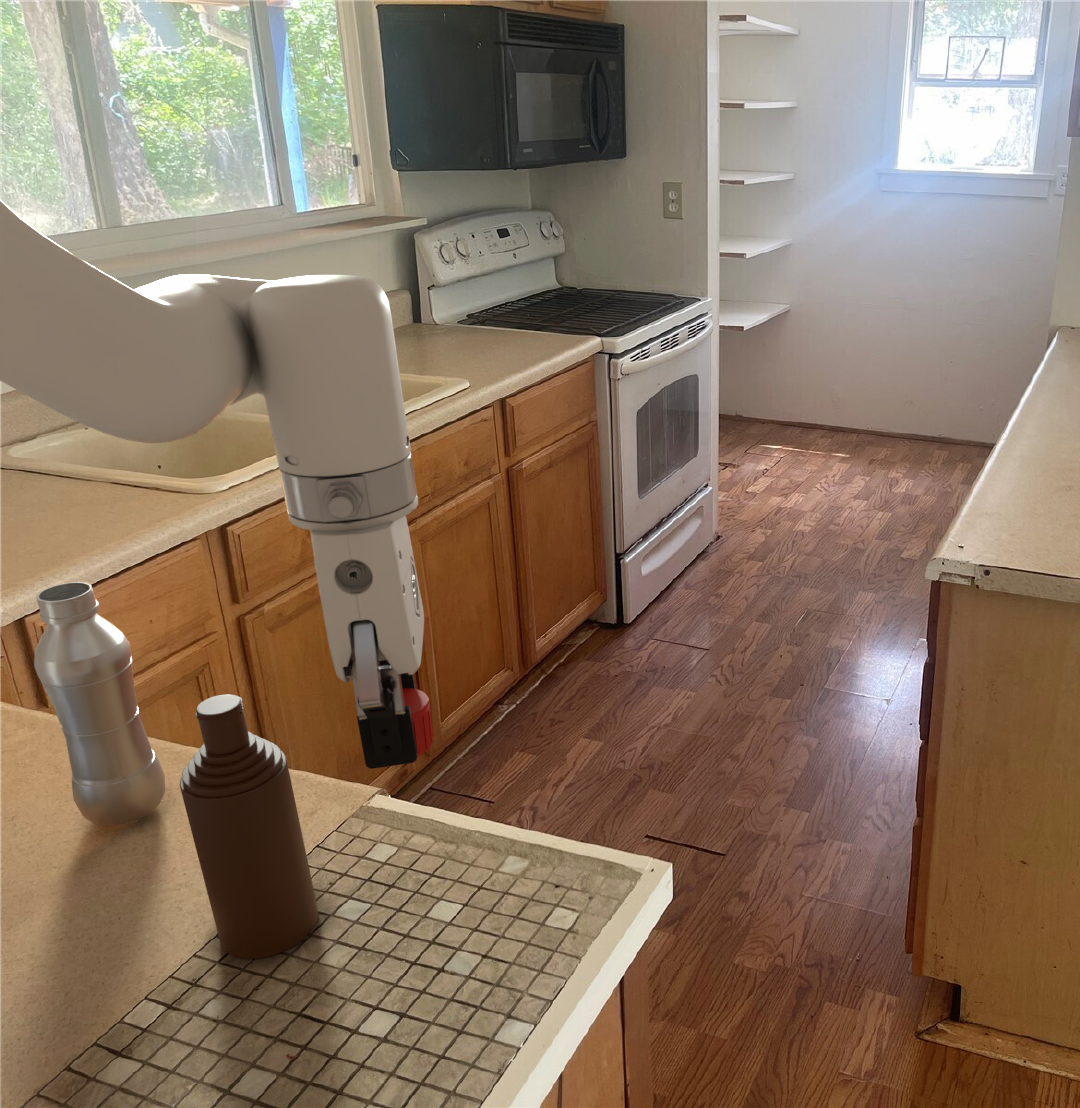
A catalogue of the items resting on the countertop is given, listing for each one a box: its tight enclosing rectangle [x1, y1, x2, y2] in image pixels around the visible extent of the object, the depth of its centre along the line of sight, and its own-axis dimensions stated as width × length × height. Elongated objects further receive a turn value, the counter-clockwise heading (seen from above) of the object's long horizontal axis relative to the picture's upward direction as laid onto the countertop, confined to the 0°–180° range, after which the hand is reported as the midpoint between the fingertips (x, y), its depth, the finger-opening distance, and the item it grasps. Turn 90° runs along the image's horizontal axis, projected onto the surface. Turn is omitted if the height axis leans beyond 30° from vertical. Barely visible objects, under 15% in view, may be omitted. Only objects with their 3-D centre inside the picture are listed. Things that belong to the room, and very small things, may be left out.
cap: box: [390, 688, 434, 757], centre depth 69 cm, size 4×4×3 cm
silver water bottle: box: [33, 581, 166, 827], centre depth 81 cm, size 6×7×20 cm
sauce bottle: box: [179, 693, 319, 960], centre depth 70 cm, size 6×6×18 cm
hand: (394, 742), depth 70 cm, fingers closed on cap, 3 cm apart
